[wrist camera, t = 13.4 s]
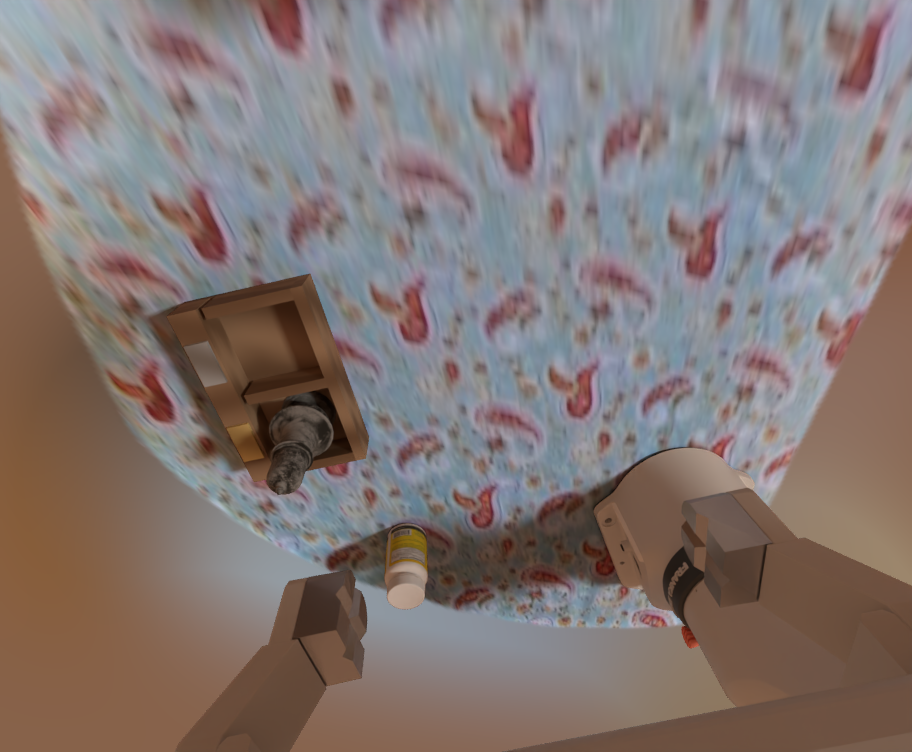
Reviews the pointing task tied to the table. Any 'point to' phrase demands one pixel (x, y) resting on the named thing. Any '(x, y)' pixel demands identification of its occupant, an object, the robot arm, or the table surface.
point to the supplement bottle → (406, 566)
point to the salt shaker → (298, 438)
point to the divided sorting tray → (269, 365)
